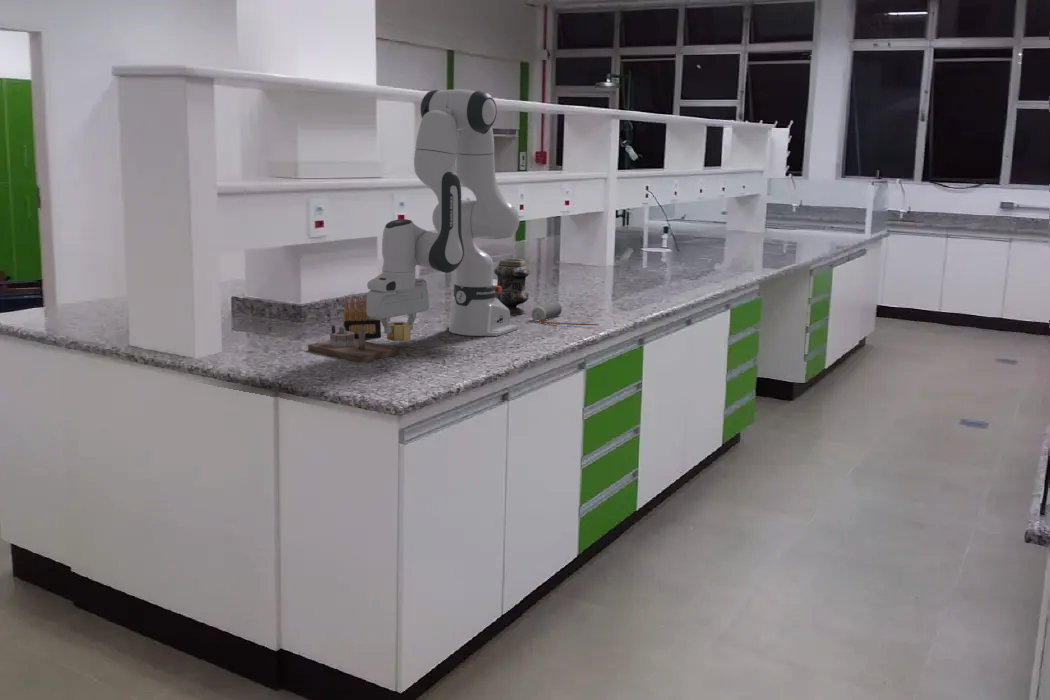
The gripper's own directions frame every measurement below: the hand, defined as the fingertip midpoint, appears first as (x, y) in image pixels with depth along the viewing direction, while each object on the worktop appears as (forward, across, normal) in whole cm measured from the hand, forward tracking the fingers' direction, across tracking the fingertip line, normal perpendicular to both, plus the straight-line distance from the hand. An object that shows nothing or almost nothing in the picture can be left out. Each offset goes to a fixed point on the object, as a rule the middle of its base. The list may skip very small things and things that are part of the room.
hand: (398, 331), depth 255 cm
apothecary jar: (+6, -68, -17) cm, 70 cm away
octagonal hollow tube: (+2, 0, 0) cm, 2 cm away
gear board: (+4, +13, -4) cm, 14 cm away
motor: (+6, -71, +7) cm, 72 cm away
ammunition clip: (+5, -2, -17) cm, 18 cm away
